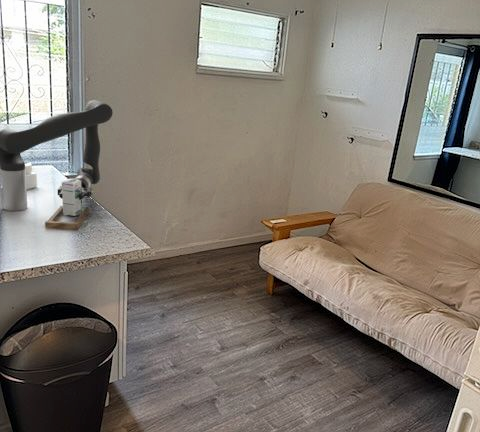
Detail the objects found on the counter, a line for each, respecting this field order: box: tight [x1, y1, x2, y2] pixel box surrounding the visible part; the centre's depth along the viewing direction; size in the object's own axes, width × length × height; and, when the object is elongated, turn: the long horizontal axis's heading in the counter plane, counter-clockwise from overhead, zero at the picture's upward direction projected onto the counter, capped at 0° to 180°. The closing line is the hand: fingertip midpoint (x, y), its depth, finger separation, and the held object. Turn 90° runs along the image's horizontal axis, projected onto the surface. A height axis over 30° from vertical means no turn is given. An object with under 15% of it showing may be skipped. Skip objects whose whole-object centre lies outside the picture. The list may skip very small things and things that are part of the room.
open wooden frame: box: [44, 205, 94, 231], centre depth 183 cm, size 14×22×2 cm, turn 6°
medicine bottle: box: [24, 161, 38, 191], centre depth 214 cm, size 7×7×12 cm
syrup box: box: [61, 178, 83, 217], centre depth 186 cm, size 6×6×14 cm
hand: (70, 196), depth 184 cm, fingers closed on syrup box, 7 cm apart
